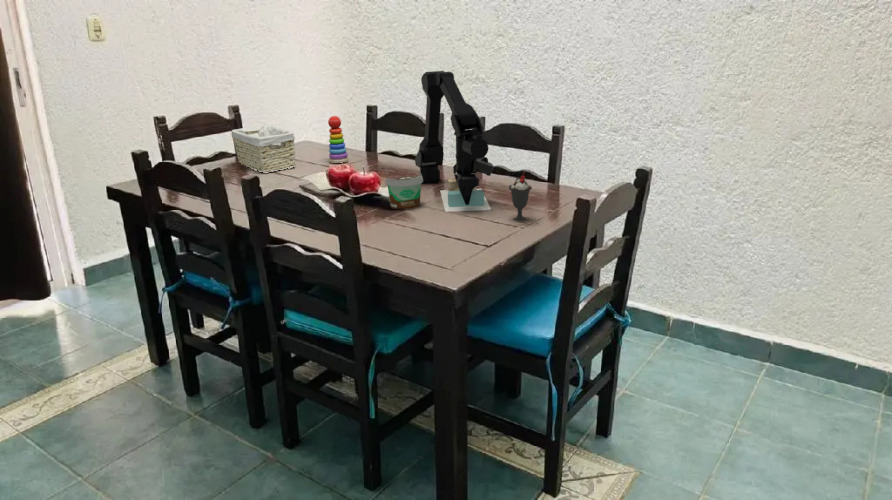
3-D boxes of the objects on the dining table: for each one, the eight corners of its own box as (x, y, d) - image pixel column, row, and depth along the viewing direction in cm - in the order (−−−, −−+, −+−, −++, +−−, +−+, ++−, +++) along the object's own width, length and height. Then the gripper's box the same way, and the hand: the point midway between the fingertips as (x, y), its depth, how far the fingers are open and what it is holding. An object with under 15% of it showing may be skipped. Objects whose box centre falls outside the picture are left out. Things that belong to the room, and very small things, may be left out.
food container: (394, 214, 199) (392, 182, 195) (386, 208, 204) (384, 177, 200) (430, 207, 204) (429, 176, 200) (422, 202, 209) (421, 172, 206)
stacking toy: (335, 159, 270) (331, 114, 264) (352, 160, 268) (348, 114, 261) (325, 163, 264) (321, 117, 257) (343, 165, 261) (339, 117, 254)
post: (449, 196, 213) (449, 181, 212) (448, 193, 217) (448, 178, 215) (461, 196, 214) (461, 181, 212) (460, 192, 217) (460, 178, 216)
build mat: (445, 212, 199) (445, 211, 198) (440, 191, 221) (440, 190, 221) (491, 210, 199) (491, 209, 199) (481, 189, 222) (481, 188, 222)
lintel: (449, 207, 203) (448, 194, 201) (448, 203, 206) (447, 191, 205) (484, 205, 203) (484, 193, 202) (482, 201, 207) (482, 189, 206)
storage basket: (299, 168, 257) (296, 131, 252) (262, 176, 247) (257, 137, 242) (271, 159, 274) (267, 124, 269) (234, 166, 264) (229, 129, 259)
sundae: (525, 225, 186) (526, 174, 180) (504, 221, 189) (504, 171, 184) (535, 219, 191) (536, 168, 186) (514, 215, 194) (515, 166, 189)
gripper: (496, 157, 191) (495, 208, 196) (487, 144, 208) (487, 192, 214) (458, 159, 190) (458, 210, 196) (452, 146, 207) (453, 193, 213)
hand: (466, 201), depth 205 cm, fingers open, 7 cm apart
